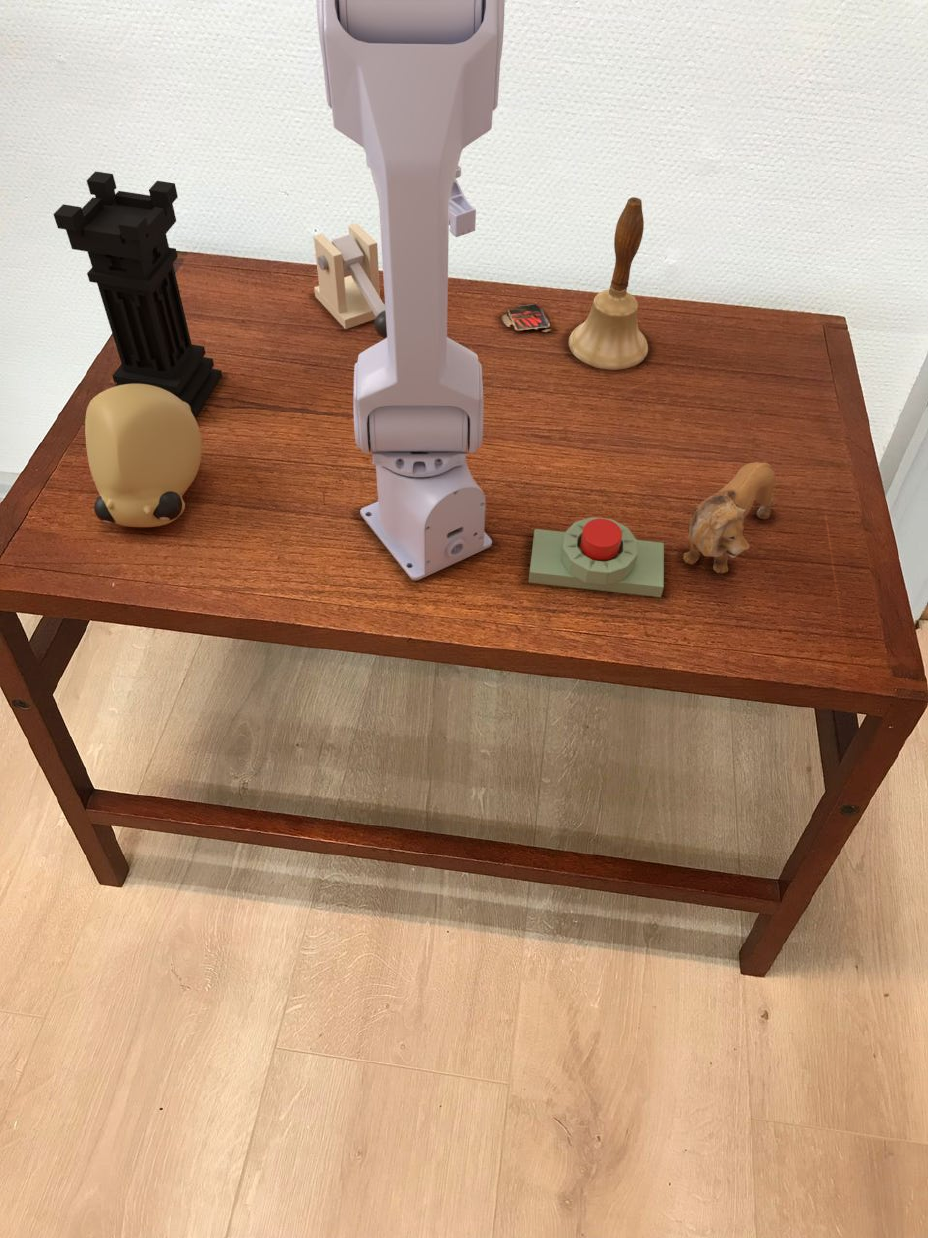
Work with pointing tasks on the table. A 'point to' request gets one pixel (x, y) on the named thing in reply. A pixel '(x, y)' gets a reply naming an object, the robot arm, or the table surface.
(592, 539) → the button
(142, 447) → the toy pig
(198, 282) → the table surface
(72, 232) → the chess piece
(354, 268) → the tap lever
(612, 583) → the button box
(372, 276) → the lever stand
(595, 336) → the hand bell
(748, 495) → the lion figurine
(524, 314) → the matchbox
